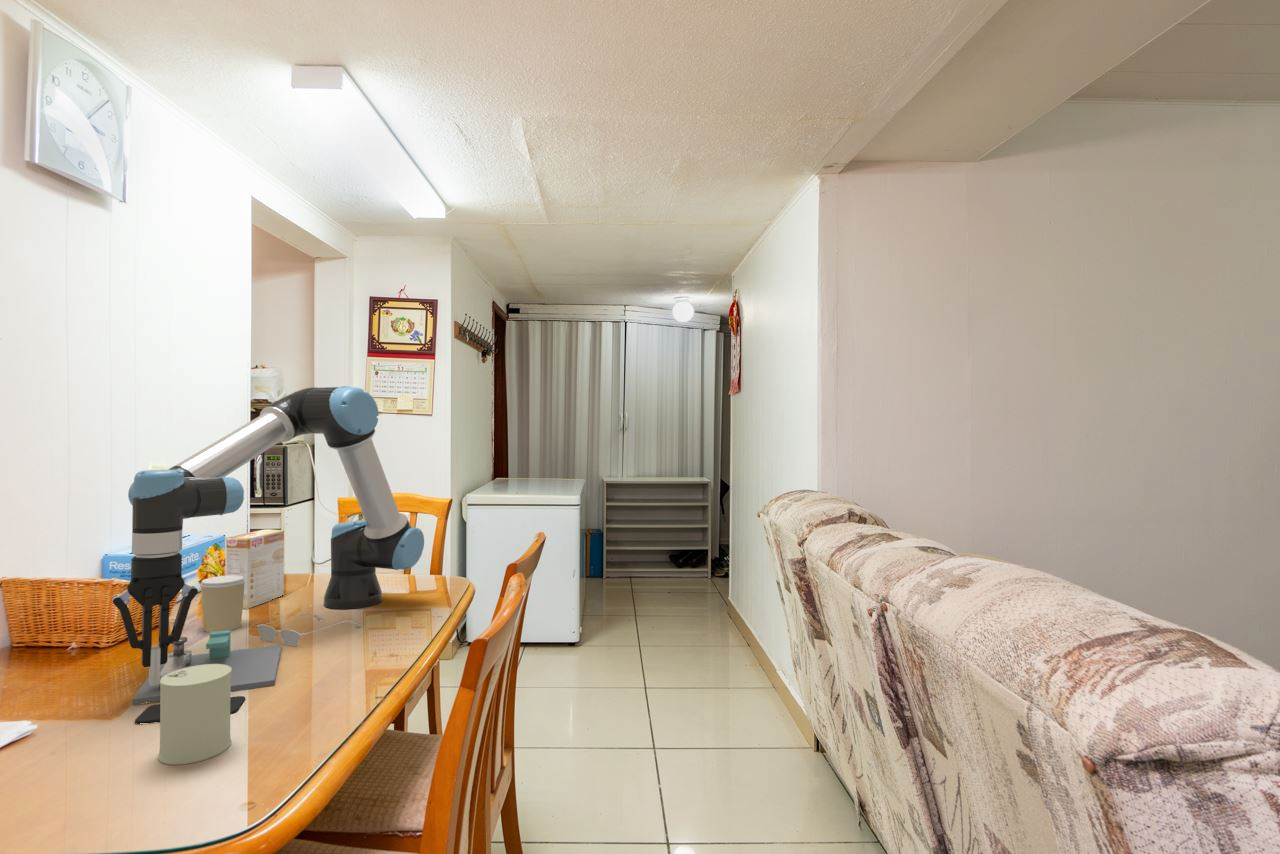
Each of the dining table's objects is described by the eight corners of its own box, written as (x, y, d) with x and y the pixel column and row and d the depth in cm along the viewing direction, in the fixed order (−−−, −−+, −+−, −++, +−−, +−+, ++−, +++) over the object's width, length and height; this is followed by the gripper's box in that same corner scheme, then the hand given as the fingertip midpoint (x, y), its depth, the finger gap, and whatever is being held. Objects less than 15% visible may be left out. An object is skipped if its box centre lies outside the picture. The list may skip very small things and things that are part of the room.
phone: (235, 711, 113) (132, 722, 108) (235, 716, 113) (131, 727, 108) (247, 695, 120) (149, 704, 116) (246, 699, 120) (149, 709, 116)
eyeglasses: (255, 640, 154) (255, 623, 154) (321, 621, 170) (322, 605, 170) (300, 650, 147) (300, 632, 148) (365, 628, 164) (365, 612, 164)
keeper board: (281, 649, 147) (281, 622, 147) (274, 685, 126) (274, 653, 126) (161, 663, 137) (161, 634, 137) (131, 705, 116) (132, 671, 116)
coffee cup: (253, 623, 166) (253, 575, 166) (226, 634, 157) (227, 583, 157) (218, 621, 167) (219, 574, 167) (190, 632, 158) (190, 582, 158)
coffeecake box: (262, 595, 195) (263, 529, 195) (284, 596, 194) (285, 529, 194) (224, 608, 180) (225, 536, 180) (247, 609, 179) (248, 537, 179)
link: (167, 662, 134) (167, 637, 134) (193, 658, 136) (193, 634, 136) (152, 690, 120) (152, 663, 120) (181, 686, 122) (181, 659, 122)
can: (182, 737, 105) (183, 661, 105) (243, 735, 105) (243, 659, 105) (143, 766, 95) (144, 683, 95) (210, 764, 96) (211, 681, 96)
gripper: (195, 547, 128) (192, 669, 128) (110, 555, 120) (107, 685, 119) (202, 553, 123) (199, 680, 122) (114, 561, 114) (110, 698, 114)
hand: (154, 682), depth 121 cm, fingers closed
